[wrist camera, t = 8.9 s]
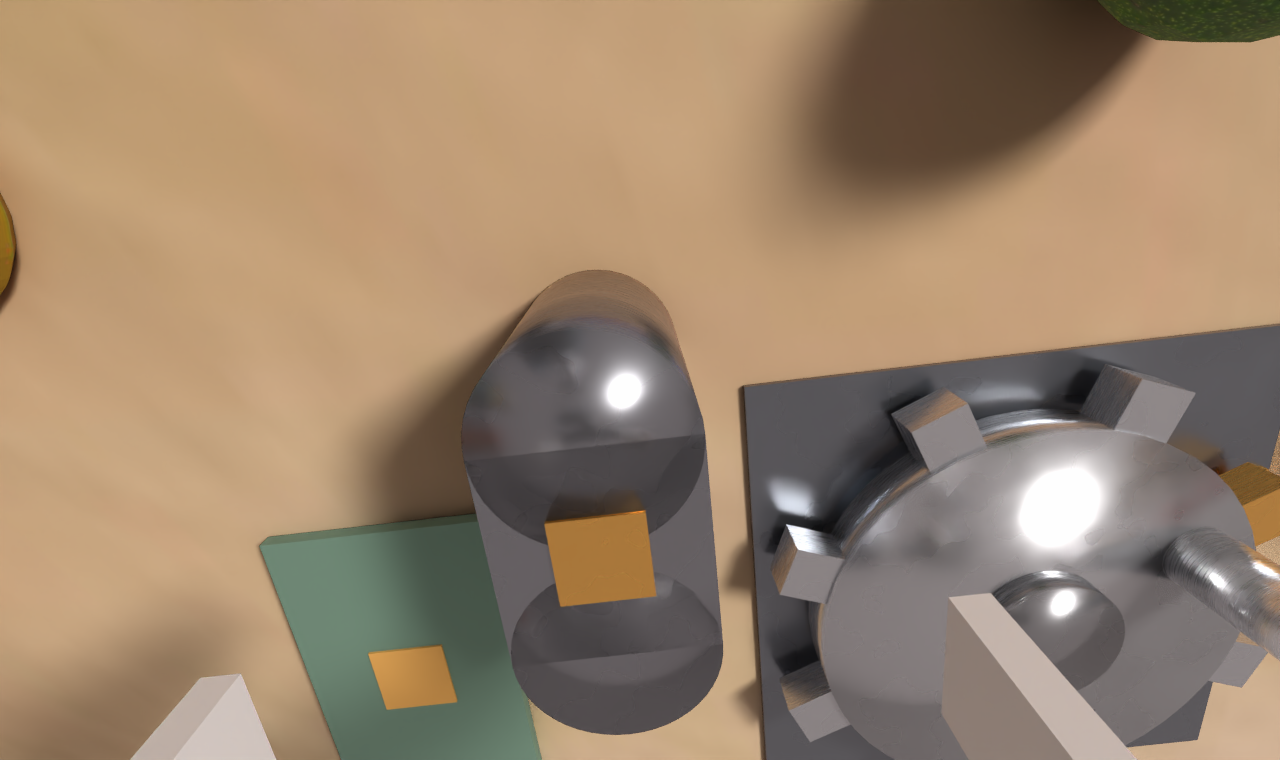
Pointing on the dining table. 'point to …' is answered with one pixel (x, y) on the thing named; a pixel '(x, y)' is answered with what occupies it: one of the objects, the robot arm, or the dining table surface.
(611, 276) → the silver capsule block
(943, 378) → the bearing plate
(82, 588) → the dining table surface
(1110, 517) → the sprocket
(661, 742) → the dining table surface
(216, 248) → the dining table surface
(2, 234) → the bottle
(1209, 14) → the fruit
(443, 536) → the green flat board
